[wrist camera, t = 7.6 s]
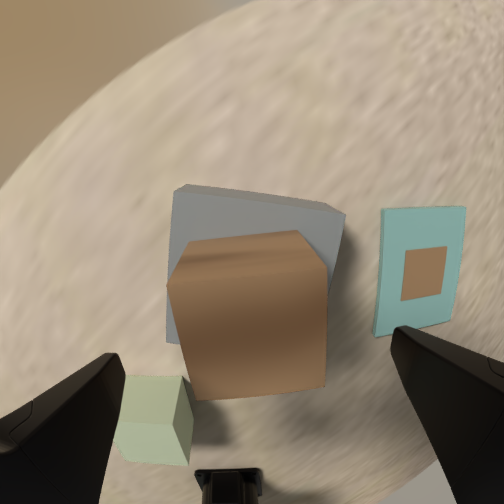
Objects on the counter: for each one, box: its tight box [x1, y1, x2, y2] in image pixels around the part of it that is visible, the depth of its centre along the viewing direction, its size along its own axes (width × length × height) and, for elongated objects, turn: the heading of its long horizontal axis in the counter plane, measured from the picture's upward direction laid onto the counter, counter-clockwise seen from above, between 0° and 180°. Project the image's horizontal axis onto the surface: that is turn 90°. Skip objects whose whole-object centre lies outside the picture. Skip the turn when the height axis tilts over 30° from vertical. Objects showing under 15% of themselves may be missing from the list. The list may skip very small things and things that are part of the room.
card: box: [372, 206, 466, 337], centre depth 19 cm, size 9×7×1 cm
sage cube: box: [113, 375, 194, 466], centre depth 19 cm, size 5×5×5 cm
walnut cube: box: [166, 230, 327, 401], centre depth 12 cm, size 5×5×5 cm
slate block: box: [166, 184, 346, 344], centre depth 17 cm, size 8×8×4 cm
